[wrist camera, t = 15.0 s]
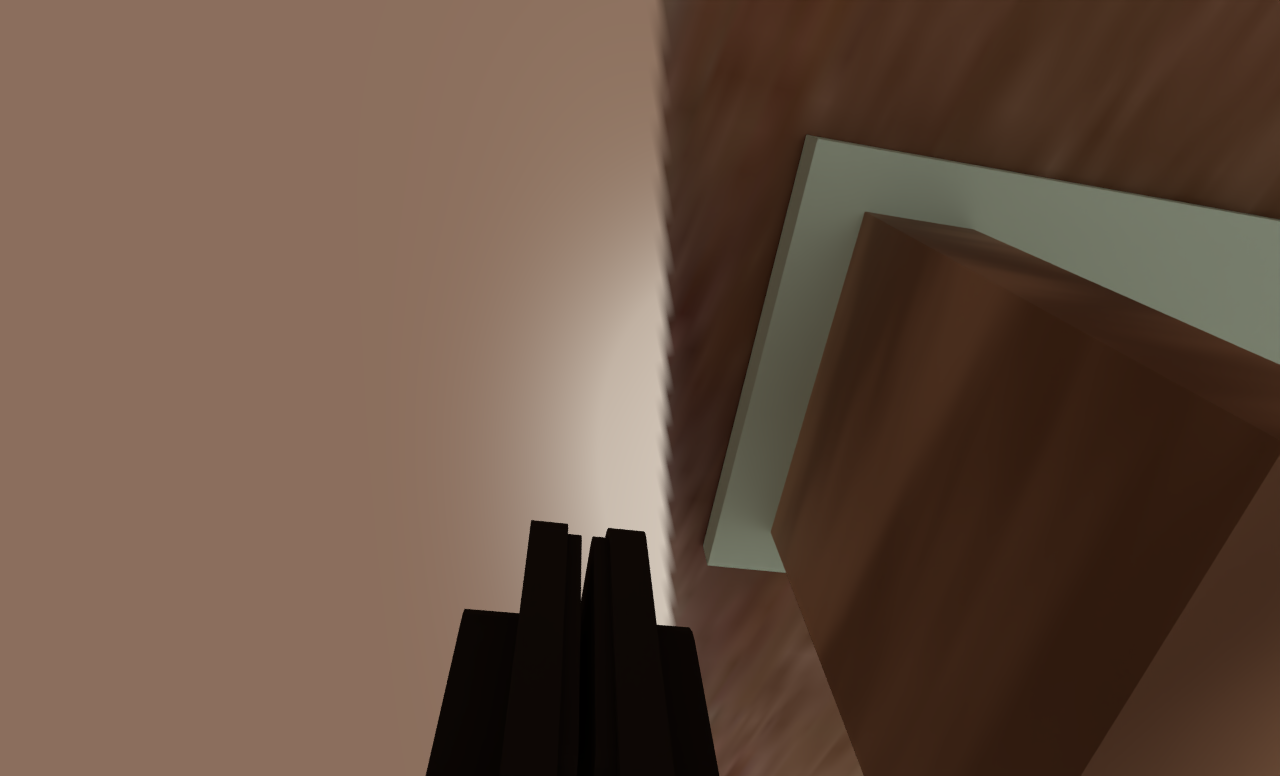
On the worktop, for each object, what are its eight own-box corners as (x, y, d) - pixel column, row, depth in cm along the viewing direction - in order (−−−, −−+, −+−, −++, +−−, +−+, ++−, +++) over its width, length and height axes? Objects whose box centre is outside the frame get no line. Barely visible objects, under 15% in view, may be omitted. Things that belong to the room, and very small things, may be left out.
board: (973, 229, 18) (1531, 475, 7) (861, 541, 22) (1117, 994, 12) (864, 211, 18) (1287, 443, 7) (770, 531, 22) (946, 991, 11)
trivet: (1459, 251, 21) (1499, 260, 20) (1233, 597, 26) (1256, 617, 25) (806, 134, 18) (818, 138, 17) (702, 545, 23) (707, 565, 22)
